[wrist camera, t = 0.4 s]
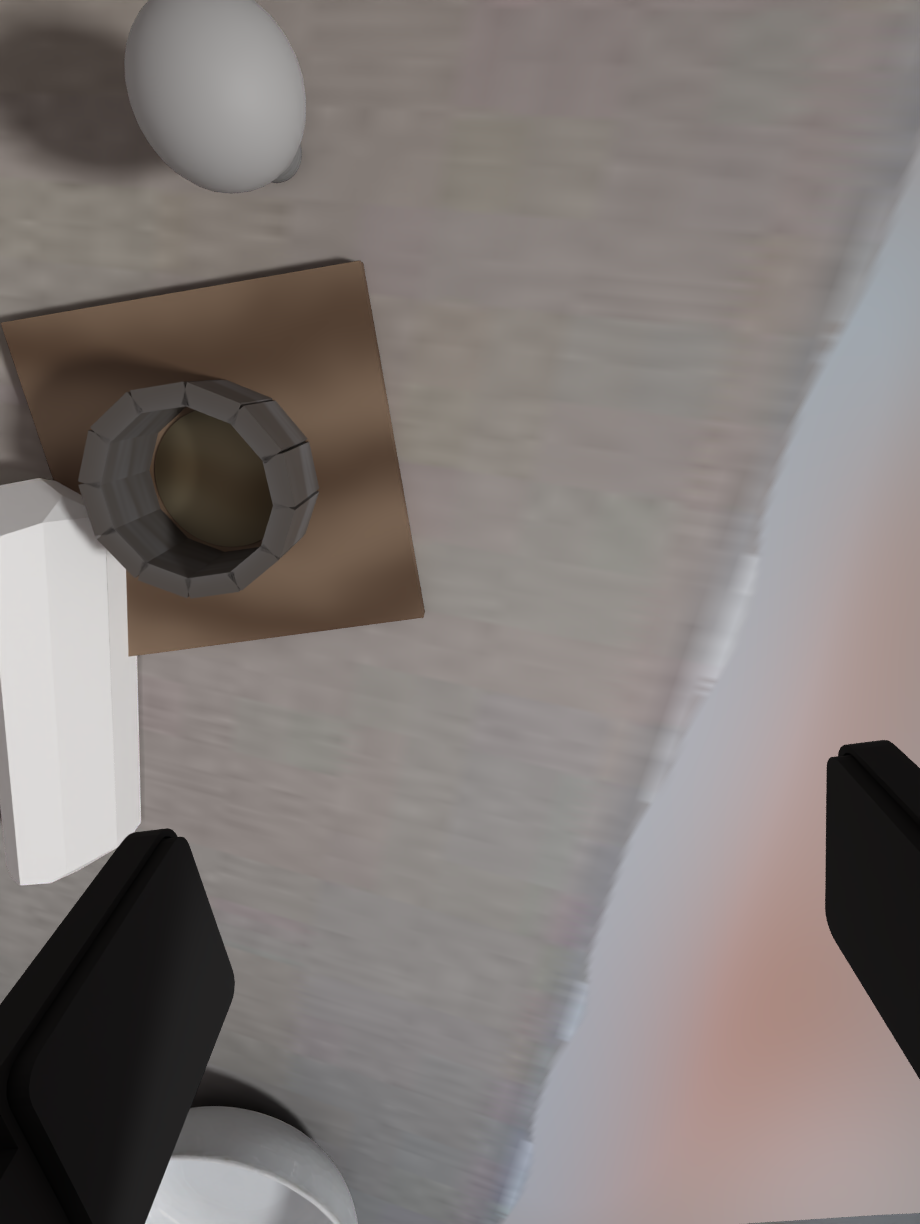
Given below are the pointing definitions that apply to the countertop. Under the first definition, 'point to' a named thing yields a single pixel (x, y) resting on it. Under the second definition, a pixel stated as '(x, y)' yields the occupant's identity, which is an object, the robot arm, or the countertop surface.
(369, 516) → the socket
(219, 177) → the lightbulb
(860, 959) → the robot arm
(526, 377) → the countertop surface
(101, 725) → the crystal
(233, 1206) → the serving bowl
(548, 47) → the countertop surface
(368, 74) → the countertop surface
